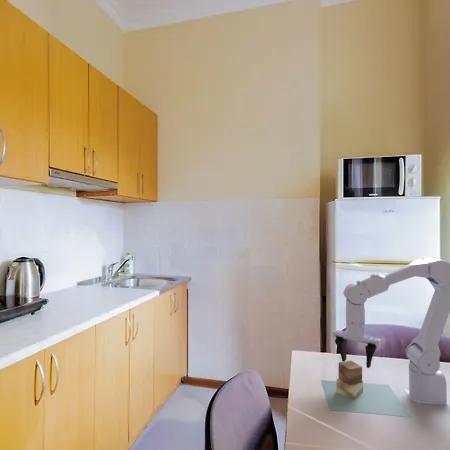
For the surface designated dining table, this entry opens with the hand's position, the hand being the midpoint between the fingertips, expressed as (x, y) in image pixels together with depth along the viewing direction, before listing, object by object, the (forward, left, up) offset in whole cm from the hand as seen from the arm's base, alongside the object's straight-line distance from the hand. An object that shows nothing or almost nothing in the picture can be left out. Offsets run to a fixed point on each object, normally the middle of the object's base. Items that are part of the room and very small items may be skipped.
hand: (356, 363), depth 101 cm
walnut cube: (+2, +1, -5) cm, 6 cm away
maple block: (+2, +1, -9) cm, 9 cm away
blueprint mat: (-1, +3, -9) cm, 10 cm away
